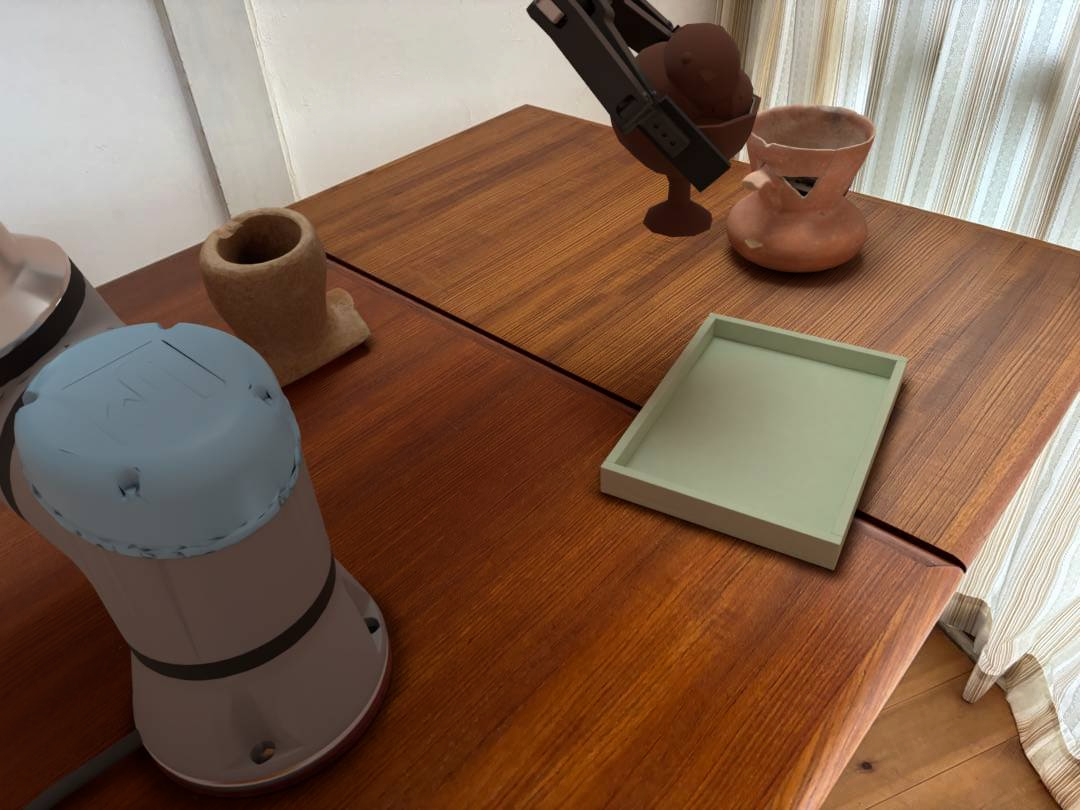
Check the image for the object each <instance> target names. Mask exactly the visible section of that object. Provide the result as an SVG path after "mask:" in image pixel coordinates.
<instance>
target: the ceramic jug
mask: <svg viewBox="0 0 1080 810" xmlns="http://www.w3.org/2000/svg"><path fill="white" fill-rule="evenodd" d="M876 131H877V129H876V126H875V123H874V122H873V121H872V120H871V119H870V118H869V117H867V116H866V115H864V114H861V113H858V112H857V111H856V110H852V109H850V108H846V107H842V106H832V105H825V104H821V103H807V104H805V103H798V104H795V103H794V104H786V105H779V106H773V107H771V108H767V109H764V110H761V111H758V113H757V116H756V119H755V123H754V126H753V129H752V132H751V135H750V137H749V138H748V140H747V142H746V144H745V145H746V150H747V156H748V160H749V165H750V168H751V172H750V173H748V174H747V175H746V176H745V177H743V179H742V180H741V184H742V186H743V187H744V188H745V189H746V190H747V191H750V192H751V193H749V194H747V195H745V196H744V197H743V198H741V199H740V200H738V201H737V202H736V203H735V205H734V206H733V207H732V208H731V210H730V211H729V213H728V216H727V218H726V221H725V230H726V235H727V239H728V241H729V243H730V245H731V246H732V248H733V249H734V250H735V251H736V252H737V253H738V254H739V255H740V256H742V257H743V258H744V259H745V260H747V261H749V262H751V263H752V264H755V265H758V266H760V267H762V268H767V269H769V270H772V271H773V270H774V271H779V272H785V273H786V272H787V273H814V272H821V271H825V270H830V269H833V268H836V267H838V266H841V265H843V264H844V263H847V262H848V261H850V260H851V259H853V258H855V256H856V255H857V254H858V253H859V252H860V251H861V250H862V249H863V246H864V245H865V243H866V242H867V239H868V234H869V227H868V222H867V220H866V218H865V215H864V214H863V212H862V211H861V209H860V208H859V207H857V205H856V204H854V203H853V202H852V201H851V200H849V199H848V198H846V196H847V194H848V193H849V191H850V189H851V187H852V185H853V183H854V180H855V178H856V176H857V174H858V173H859V171H860V169H861V168H862V167H863V164H864V162H865V161H866V159H867V157H868V155H869V152H870V151H871V148H872V146H873V143H874V140H875V137H876V134H877V132H876Z"/></svg>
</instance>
